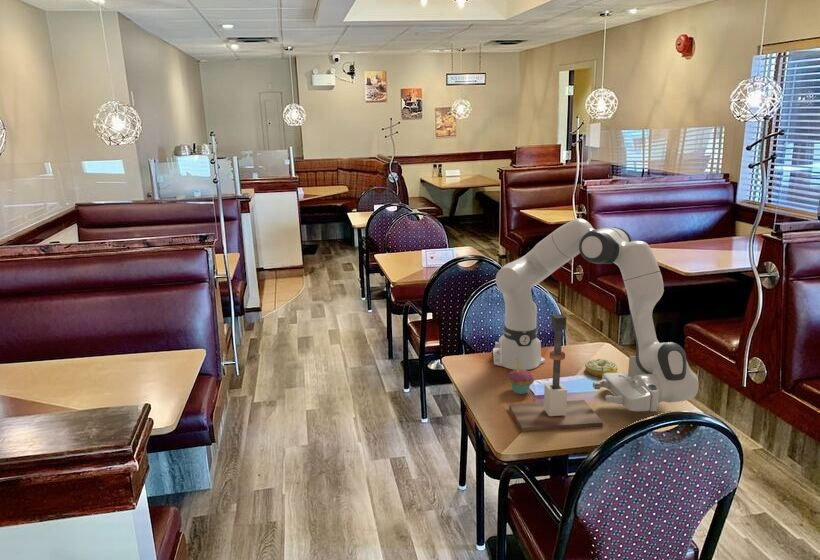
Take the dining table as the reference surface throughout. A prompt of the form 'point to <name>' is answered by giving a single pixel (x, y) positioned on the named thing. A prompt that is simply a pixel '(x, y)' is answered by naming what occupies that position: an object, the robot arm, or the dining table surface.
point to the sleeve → (555, 400)
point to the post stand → (577, 411)
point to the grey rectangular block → (634, 367)
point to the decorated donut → (599, 366)
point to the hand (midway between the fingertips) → (599, 392)
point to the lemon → (610, 371)
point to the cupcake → (520, 380)
